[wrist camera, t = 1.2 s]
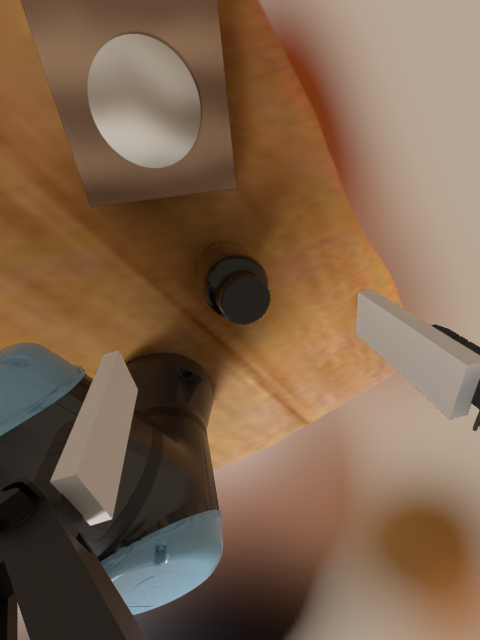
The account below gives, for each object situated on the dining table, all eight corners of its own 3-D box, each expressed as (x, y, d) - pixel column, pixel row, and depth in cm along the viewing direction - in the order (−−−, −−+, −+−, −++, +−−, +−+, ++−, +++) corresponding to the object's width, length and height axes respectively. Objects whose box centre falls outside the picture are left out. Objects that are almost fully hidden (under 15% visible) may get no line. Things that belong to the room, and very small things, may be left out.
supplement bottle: (253, 281, 37) (287, 321, 26) (206, 299, 36) (221, 346, 26) (239, 231, 34) (272, 253, 23) (187, 250, 33) (196, 281, 23)
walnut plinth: (228, 187, 31) (237, 188, 27) (100, 204, 29) (90, 207, 25) (209, 15, 24) (216, -15, 21) (40, 20, 22) (14, -13, 19)
